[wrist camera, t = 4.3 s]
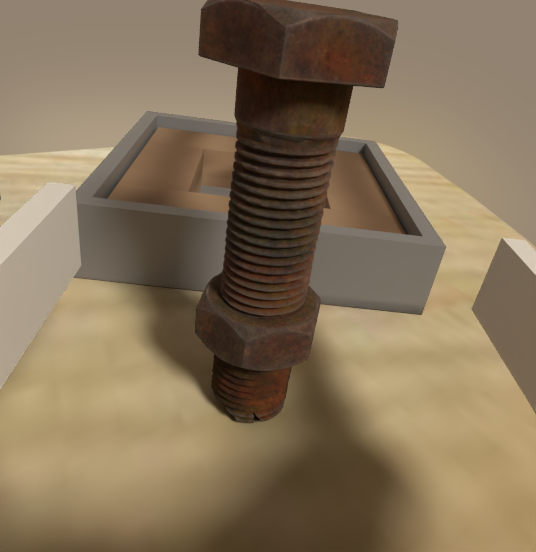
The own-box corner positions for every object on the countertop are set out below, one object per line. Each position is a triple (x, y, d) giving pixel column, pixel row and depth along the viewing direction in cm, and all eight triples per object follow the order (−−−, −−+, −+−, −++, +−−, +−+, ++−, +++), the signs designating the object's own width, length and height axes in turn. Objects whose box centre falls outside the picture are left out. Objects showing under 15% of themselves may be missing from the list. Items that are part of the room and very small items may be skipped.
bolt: (290, 354, 24) (358, 9, 16) (331, 434, 20) (449, 29, 12) (170, 367, 22) (184, -15, 14) (190, 459, 18) (225, -2, 10)
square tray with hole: (100, 259, 28) (97, 211, 27) (158, 161, 43) (158, 127, 42) (399, 292, 29) (413, 248, 28) (354, 185, 44) (361, 153, 43)
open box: (72, 277, 27) (66, 202, 25) (147, 161, 44) (147, 111, 42) (421, 314, 29) (446, 246, 26) (363, 188, 46) (375, 141, 43)
